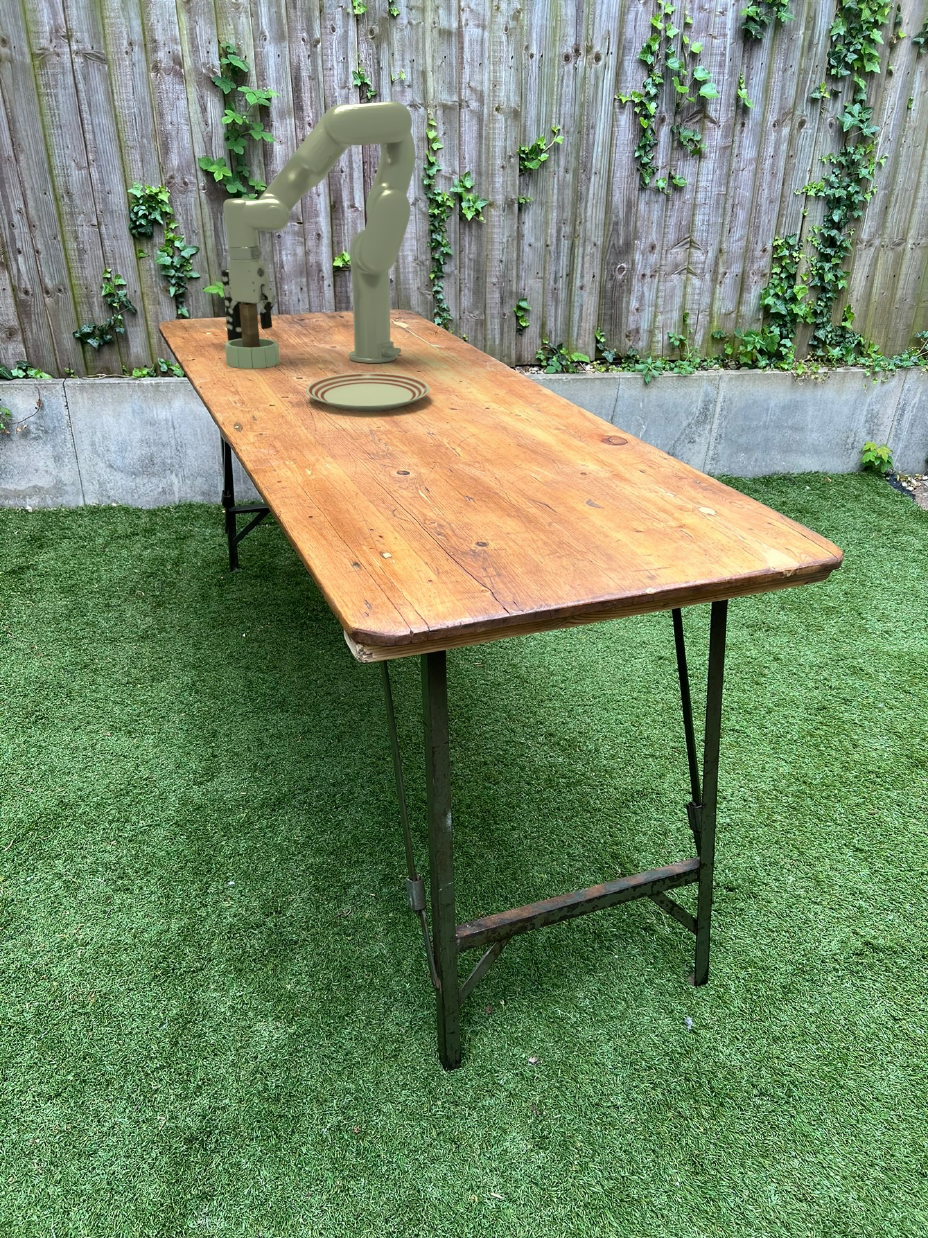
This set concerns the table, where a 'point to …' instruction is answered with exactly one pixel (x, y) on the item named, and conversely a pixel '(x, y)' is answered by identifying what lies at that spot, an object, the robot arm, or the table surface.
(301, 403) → the table surface
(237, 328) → the white-spotted black cylinder
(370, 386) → the dinner plate
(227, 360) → the green faceted socket ring
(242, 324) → the wooden rectangular post
